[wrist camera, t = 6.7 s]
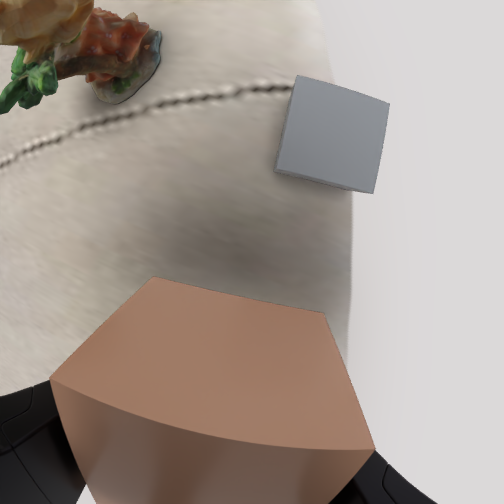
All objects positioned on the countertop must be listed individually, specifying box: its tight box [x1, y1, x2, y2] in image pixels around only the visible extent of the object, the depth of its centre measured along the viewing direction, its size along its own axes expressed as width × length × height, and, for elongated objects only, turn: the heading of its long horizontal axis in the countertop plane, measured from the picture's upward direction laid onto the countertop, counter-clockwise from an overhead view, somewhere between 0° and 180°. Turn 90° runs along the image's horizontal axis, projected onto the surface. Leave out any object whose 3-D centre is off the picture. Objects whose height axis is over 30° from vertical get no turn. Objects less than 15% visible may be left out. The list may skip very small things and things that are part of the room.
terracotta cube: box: [49, 276, 376, 504], centre depth 6 cm, size 5×5×5 cm
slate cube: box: [274, 75, 390, 194], centre depth 15 cm, size 5×5×5 cm
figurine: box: [0, 0, 161, 114], centre depth 10 cm, size 9×8×15 cm
